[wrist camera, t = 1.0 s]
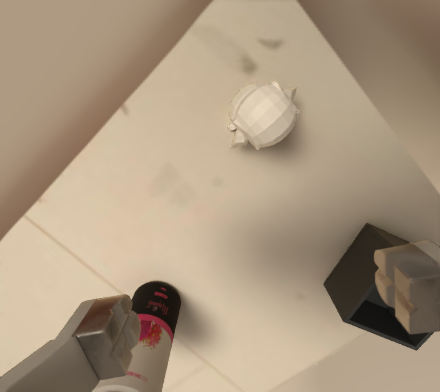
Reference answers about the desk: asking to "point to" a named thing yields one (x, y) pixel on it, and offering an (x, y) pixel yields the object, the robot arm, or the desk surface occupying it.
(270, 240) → the desk surface
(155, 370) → the beverage can
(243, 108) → the figurine
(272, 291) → the desk surface
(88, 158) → the desk surface
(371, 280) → the dark grey hollow box
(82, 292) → the desk surface
